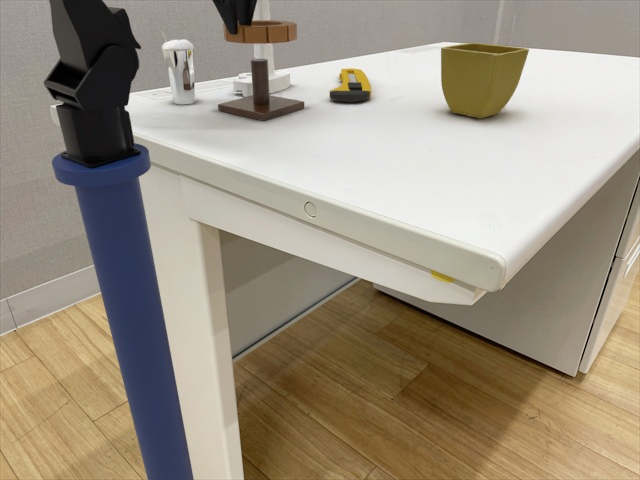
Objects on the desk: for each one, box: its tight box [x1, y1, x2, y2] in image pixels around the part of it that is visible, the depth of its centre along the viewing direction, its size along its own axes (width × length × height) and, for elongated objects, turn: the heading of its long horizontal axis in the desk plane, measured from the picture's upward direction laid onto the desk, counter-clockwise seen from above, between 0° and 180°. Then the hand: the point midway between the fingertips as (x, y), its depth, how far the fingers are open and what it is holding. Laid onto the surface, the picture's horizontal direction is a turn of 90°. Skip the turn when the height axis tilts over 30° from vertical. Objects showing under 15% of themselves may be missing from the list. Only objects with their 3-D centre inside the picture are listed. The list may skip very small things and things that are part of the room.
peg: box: [217, 58, 305, 122], centre depth 72 cm, size 9×9×7 cm
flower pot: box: [440, 42, 530, 119], centre depth 70 cm, size 9×9×9 cm
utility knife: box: [329, 68, 372, 103], centre depth 86 cm, size 7×22×2 cm, turn 0°
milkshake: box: [160, 31, 196, 106], centre depth 75 cm, size 4×5×10 cm
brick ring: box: [222, 19, 298, 45], centre depth 68 cm, size 10×10×2 cm
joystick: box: [232, 0, 291, 98], centre depth 81 cm, size 11×8×20 cm
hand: (239, 33), depth 65 cm, fingers closed on brick ring, 2 cm apart
